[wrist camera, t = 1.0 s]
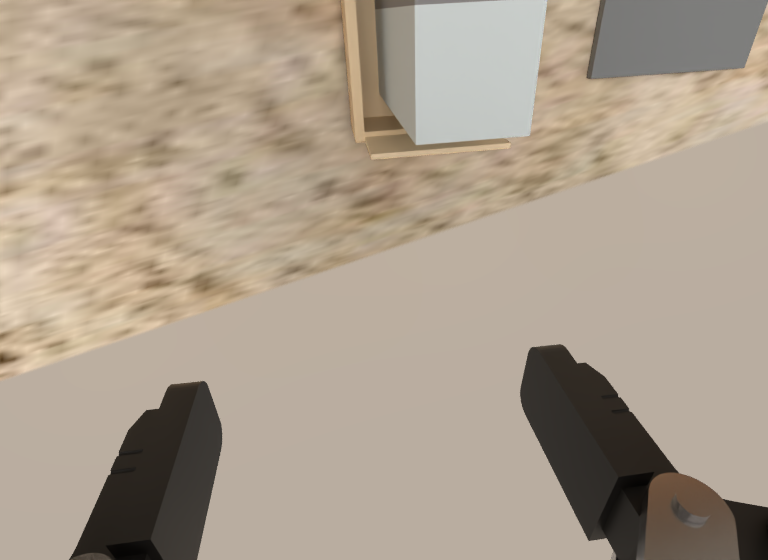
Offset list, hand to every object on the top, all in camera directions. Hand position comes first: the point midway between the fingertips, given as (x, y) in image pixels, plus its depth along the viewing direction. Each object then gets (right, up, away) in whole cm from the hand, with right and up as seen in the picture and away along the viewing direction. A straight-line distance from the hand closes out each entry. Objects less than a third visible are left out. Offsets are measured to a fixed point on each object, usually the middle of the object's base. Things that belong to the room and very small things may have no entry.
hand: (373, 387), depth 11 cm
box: (+2, +19, +17) cm, 26 cm away
